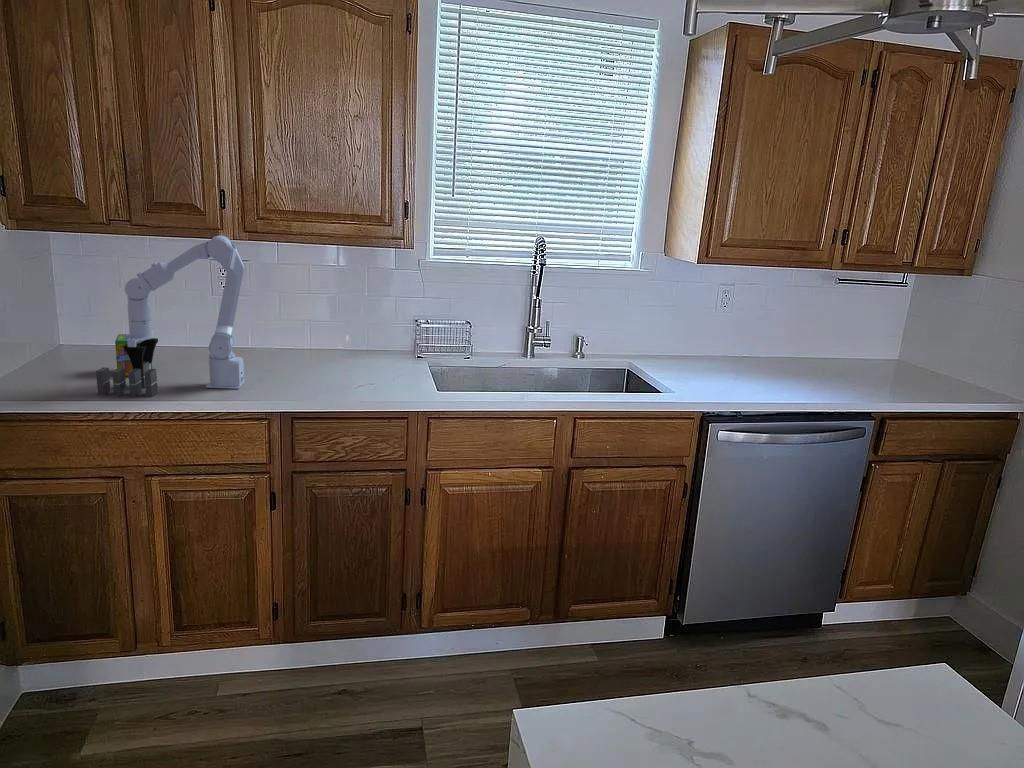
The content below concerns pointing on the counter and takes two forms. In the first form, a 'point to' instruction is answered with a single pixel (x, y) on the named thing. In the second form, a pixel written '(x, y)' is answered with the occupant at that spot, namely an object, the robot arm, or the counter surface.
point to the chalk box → (123, 354)
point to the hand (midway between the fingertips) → (142, 366)
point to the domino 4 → (144, 369)
